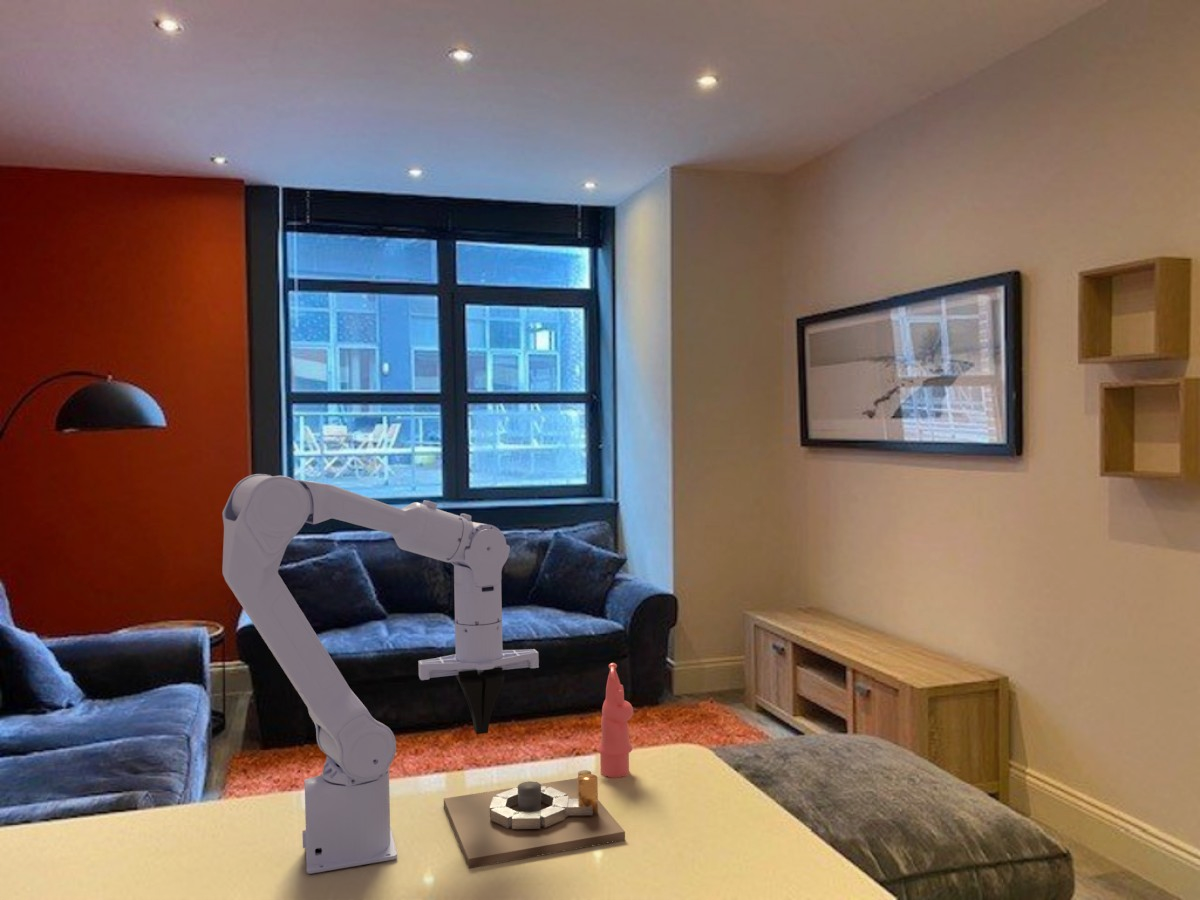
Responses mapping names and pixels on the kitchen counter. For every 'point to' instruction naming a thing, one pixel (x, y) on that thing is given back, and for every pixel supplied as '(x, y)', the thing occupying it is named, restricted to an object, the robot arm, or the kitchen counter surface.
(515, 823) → the white segmented ring
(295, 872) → the kitchen counter surface
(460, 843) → the peg base
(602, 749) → the figurine
